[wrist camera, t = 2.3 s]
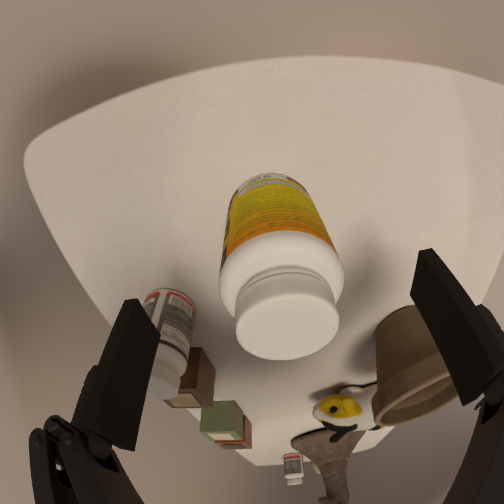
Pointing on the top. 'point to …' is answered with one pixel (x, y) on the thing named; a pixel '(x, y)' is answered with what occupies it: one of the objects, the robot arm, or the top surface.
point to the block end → (239, 444)
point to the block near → (195, 383)
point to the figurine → (347, 411)
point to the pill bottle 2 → (294, 468)
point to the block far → (222, 421)
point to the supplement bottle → (279, 270)
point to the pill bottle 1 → (169, 340)
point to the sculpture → (330, 460)
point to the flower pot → (408, 371)
